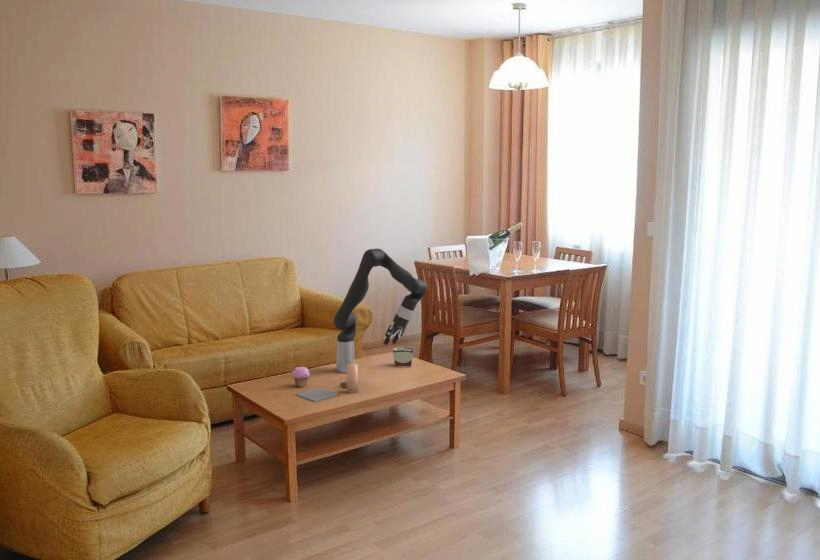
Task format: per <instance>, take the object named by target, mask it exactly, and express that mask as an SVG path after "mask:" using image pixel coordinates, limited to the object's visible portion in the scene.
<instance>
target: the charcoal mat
mask: <svg viewBox="0 0 820 560" xmlns="http://www.w3.org/2000/svg"><path fill="white" fill-rule="evenodd" d="M336 395H338V396H340V393H337V392H335V391H331V390H328V389H327V388H326V389H325V388H322V387H316V388H313V389H309V390H306V391H302V392H299V393H296V394H295V396H297V397H299V396H300V398H302V397H303V398H302V399H305V398H306V399H305V400H308V399H309V400H308V401H311V400H312V401H311V402H313V401H315V402H314V403H317V402H316V401H318V402H321V401H324V400H327V398H328V399H330V397H331V398H334V397H337V396H336ZM333 396H334V397H333ZM323 399H324V400H323ZM320 400H321V401H320Z"/></svg>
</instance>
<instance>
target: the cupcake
mask: <svg viewBox="0 0 820 560" xmlns="http://www.w3.org/2000/svg"><path fill="white" fill-rule="evenodd" d="M291 375H292V377H293V378H294V385H295V386H296V387H299V388H304V387H306V386H307V384H308V381H309V377H310V375H311V374H310V370H309V369H308V367H306V366H297V367H295V368H294V369H293V370H292V373H291Z"/></svg>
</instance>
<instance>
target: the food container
mask: <svg viewBox="0 0 820 560" xmlns="http://www.w3.org/2000/svg"><path fill="white" fill-rule="evenodd" d="M391 354H393V360H394V363H393V364H394V367H395V366H411V367H412V365H413V363H412V362H413V355H414V354H415V351H414V349H413V348H412V347H408V346H400V347H394V348H393V349H392V351H391Z"/></svg>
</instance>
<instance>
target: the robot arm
mask: <svg viewBox="0 0 820 560" xmlns="http://www.w3.org/2000/svg"><path fill="white" fill-rule="evenodd" d="M374 267H375V268H376V267H383V268H384V269H386V270H388V272H389V273H390V276H391V277H392V278H393V279H394V280H395V281H396V282H398V283H399V284H400V285H402V286H403V287H404V288H405V289H406V290H408V292H410V293H409V294H408V295H407V294H406V295H405V296H404V297H403V300H402V301H401V304H400V305H399V306H398V309H397V311H396V313H395V314H394V316H393V319H392V322H393V325H392V324H389V326H388V328H387V330H386V331H385V333H384V336H385V339H384V340H383V341H384V342H383V344H384V345H385V346H386V345H387V346H388V345H389V343H390V341H391V343H392V344H393V345H396V344H397V342H398V340H399V339H401V338H402V337H403V335H404V333H405V330H406V329H407V326H408V324H409V322H410V320H411V318H412V316H413V313H414V311H415V309H416V307H417V305H418V303H419V302H420V301H421V300H422V298H423V297H424V296H425V294H426V293H427V290H428V284H427V282H426V281H425V280H422V279H418V278H415V277H413V274H412V273H410V272H409V271H408V270H407V269H405V268H404V267H402V266H401V265H399V264H398V263H397V262H396V261H395V260H394V259H393V258H391V257H390V256H389V254H388V253H387V252H385V251H384V250H383V249H381V248H370V249H366V250H365V251H364V253H363V255H362V257H361V260H360V263H359V266H358V269H357V271H356V274H355V276H354V279H353V281H352V282H351V283H350V284H351V285H350V286H349V288H348V290H347V293H346V295H345V298H344V299H343V301H342V304H341V305H340V307H339V308H338V310H337V312H336V313H335V315H334V318H333V325H334V327H335V328H336V329H338V330H341V331H340V332H339V333H338V334H337V337H336V340H337V341H336V342H337V343H336V344H337V346H336V347H337V348H336V349H337V353H336V355H335V356H336V357H335V358H336V359H335V360H336V362H335V363H336V371H337V372H338V373H342V374H347V364H349V363H355V336H356V333H357V332H356V331H357V318H356V314H355V313H354V312H353V310H355V308H357V306H358V305H359V304H361V303H362V301H363V300H364V298H365V297H366V295H367V293H368V290H369V289H370V287H369V286H370V282H369V275H370V273H371V271H372V269H373V268H374ZM392 338H393V339H392ZM391 339H392V340H391Z"/></svg>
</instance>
